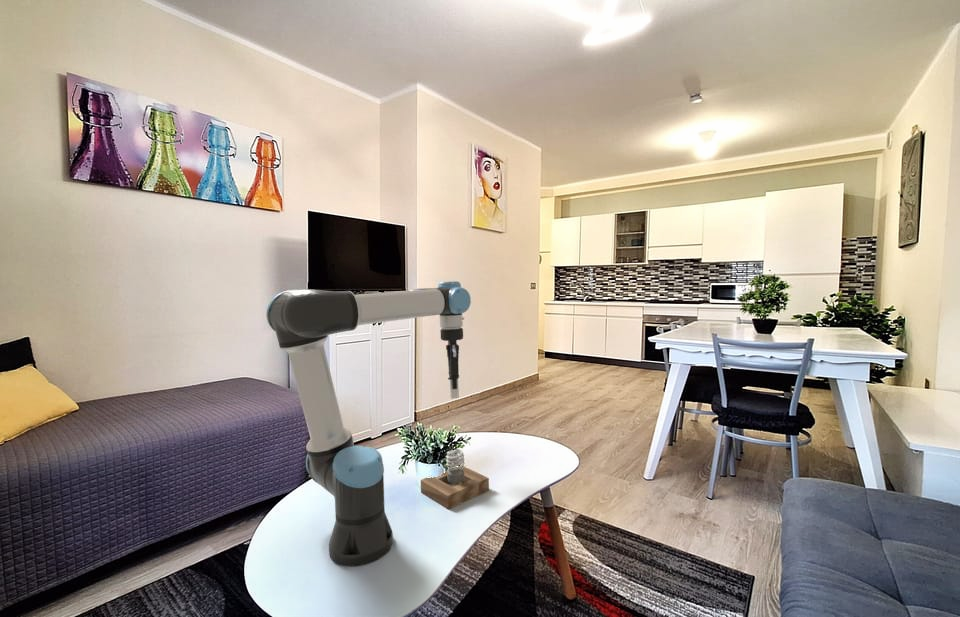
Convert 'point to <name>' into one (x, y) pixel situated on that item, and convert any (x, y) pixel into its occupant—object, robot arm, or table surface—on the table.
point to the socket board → (454, 488)
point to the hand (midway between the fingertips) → (454, 397)
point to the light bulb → (455, 473)
